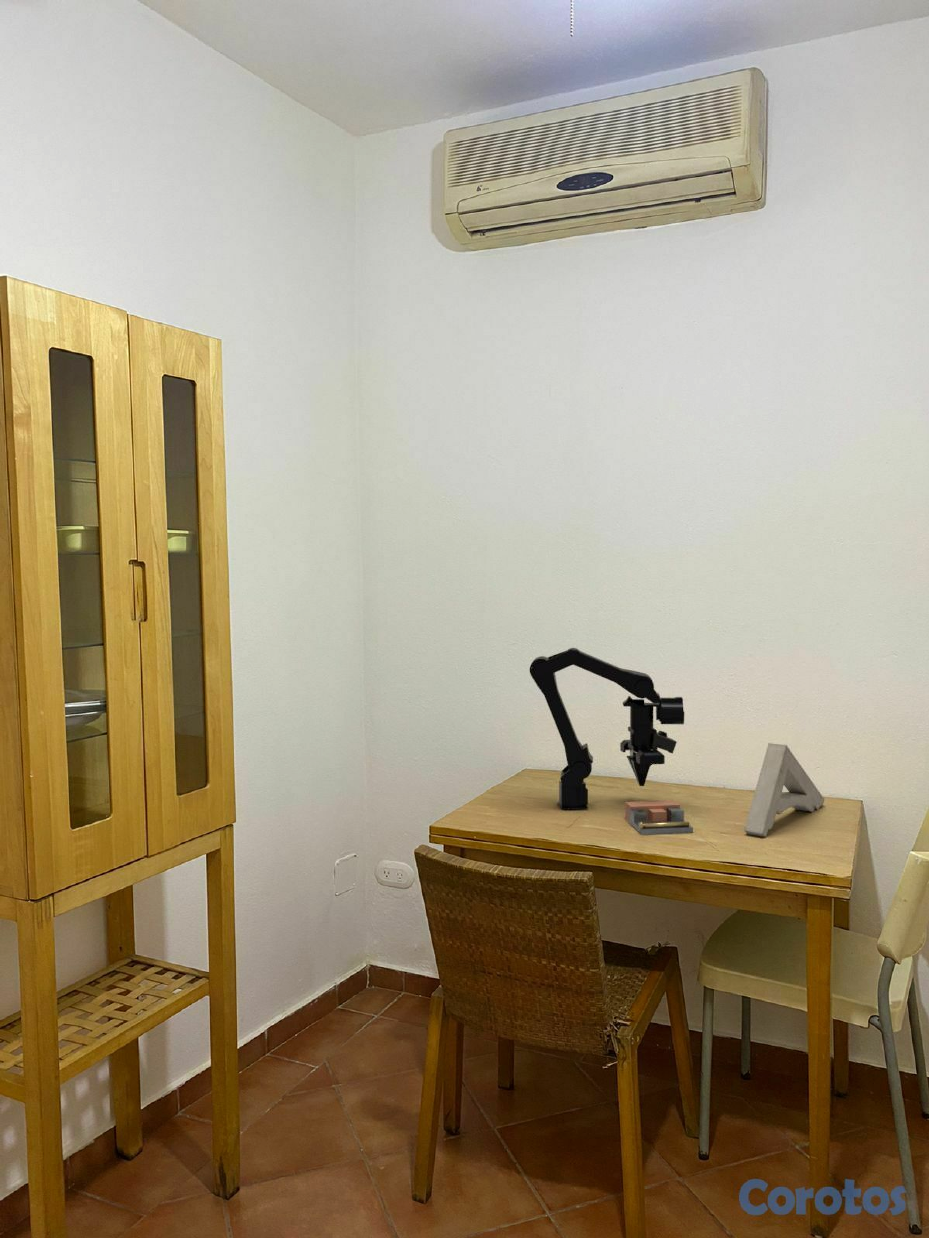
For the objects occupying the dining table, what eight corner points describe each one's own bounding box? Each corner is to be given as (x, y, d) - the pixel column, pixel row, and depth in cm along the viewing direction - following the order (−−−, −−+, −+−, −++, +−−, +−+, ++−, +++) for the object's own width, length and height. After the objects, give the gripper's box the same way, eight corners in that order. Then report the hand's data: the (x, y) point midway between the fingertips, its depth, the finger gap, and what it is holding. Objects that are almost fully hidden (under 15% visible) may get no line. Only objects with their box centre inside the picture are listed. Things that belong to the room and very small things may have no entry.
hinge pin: (640, 829, 225) (640, 823, 225) (638, 828, 227) (638, 821, 226) (689, 828, 226) (689, 821, 226) (687, 826, 228) (687, 819, 228)
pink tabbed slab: (634, 826, 231) (634, 809, 231) (625, 818, 239) (625, 801, 239) (684, 824, 233) (684, 807, 233) (673, 816, 241) (673, 800, 240)
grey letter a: (803, 882, 240) (762, 833, 221) (786, 878, 243) (744, 830, 223) (824, 799, 249) (786, 745, 229) (807, 796, 252) (768, 743, 232)
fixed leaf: (641, 834, 224) (641, 819, 224) (629, 823, 234) (629, 808, 234) (692, 832, 226) (692, 817, 226) (678, 821, 235) (678, 806, 235)
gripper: (685, 729, 238) (685, 793, 239) (661, 717, 257) (661, 776, 258) (640, 730, 237) (640, 794, 238) (619, 718, 256) (619, 778, 256)
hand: (641, 785), depth 248 cm, fingers closed
